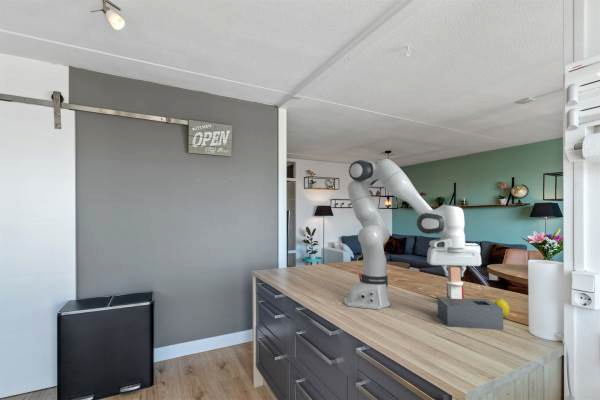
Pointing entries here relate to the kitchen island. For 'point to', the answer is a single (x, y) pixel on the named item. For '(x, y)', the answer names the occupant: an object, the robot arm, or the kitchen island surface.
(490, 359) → the kitchen island surface
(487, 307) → the block
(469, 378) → the kitchen island surface
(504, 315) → the lemon
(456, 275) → the pink white square peg
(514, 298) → the kitchen island surface
